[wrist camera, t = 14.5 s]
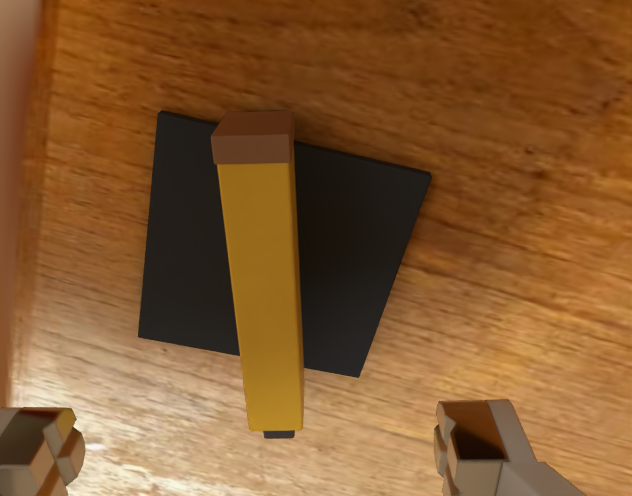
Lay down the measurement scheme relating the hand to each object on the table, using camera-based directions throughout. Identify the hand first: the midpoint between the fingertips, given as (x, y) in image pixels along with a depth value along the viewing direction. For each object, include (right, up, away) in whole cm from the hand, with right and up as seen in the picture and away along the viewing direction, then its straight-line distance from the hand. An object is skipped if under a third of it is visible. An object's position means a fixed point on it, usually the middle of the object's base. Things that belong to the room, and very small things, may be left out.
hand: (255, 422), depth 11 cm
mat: (0, +4, +7) cm, 8 cm away
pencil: (0, +3, +7) cm, 8 cm away
